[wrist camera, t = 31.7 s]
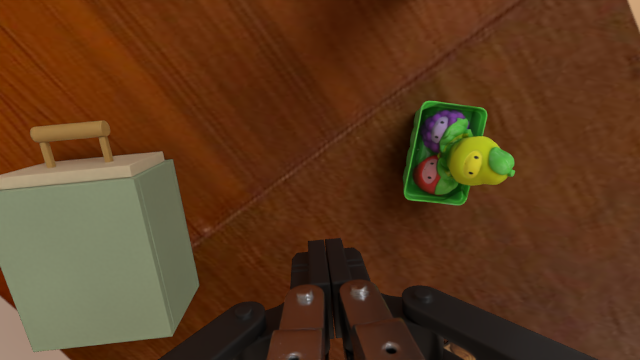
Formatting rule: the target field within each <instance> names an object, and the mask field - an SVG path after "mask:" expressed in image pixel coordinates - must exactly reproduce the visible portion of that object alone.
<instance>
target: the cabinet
mask: <svg viewBox="0 0 640 360" xmlns="http://www.w3.org/2000/svg"><path fill="white" fill-rule="evenodd" d="M0 267H1V269H2V272H3V274H4V277H5V280H6V282H7V285H8V287H9V290H10V292H11V295H12V298H13V300H14V303H15V305H16V308H17V311H18V313H19V316H20V318H21V321H22V324H23V326H24V329H25V331H26V334H27V337H28V339H29V342H30V344H31V347H32V349H33V352H39V351H46V350H56V349H65V348H74V347H83V346H92V345H100V344H109V343H118V342H127V341H136V340H144V339H153V338H162V337H171V336H173V334H174V332H175V330H176V328H177V326H178V324H179V322H180V321H181V319H182V317H183V315H184V313H185V311H186V309H187V307H188V306H189V304H190V302H191V300H192V298H193V296H194V294H195V292H196V291H197V289H198V287H199V281H198V276H197V272H196V267H195V262H194V257H193V253H192V248H191V243H190V238H189V234H188V229H187V224H186V220H185V215H184V210H183V205H182V201H181V196H180V191H179V186H178V182H177V177H176V172H175V167H174V163H173V159H169V160H165V161H164V162H162V163H160V164H157V165H155V166H153V167H151V168H149V169H147V170H145V171H143V172H141V173H139V174H137V175H135V176H133V177H130V178H122V179H112V180H102V181H91V182H81V183H71V184H61V185H47V186H36V187H26V188H16V189H6V190H0Z"/></svg>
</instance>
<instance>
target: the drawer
mask: <svg viewBox="0 0 640 360" xmlns="http://www.w3.org/2000/svg"><path fill="white" fill-rule="evenodd" d="M109 134H110V127H109V124H108V123H107V122H106V121H93V122H82V123H72V124H61V125H50V126H39V127H33V128H32V129H31V131H30V135H31V138H32V139H33V140H34V141H35V142H40V143H39V144H40V147H41V150H42V153H43V157H44V160H45V163H43V164H39V165H36V166H32V167H28V168H25V169H21V170H17V171H13V172H10V173H6V174H2V175H0V190H6V189H16V188H26V187H36V186H47V185H61V184H71V183H81V182H91V181H102V180H112V179H122V178H130V177H133V176H135V175H137V174H139V173H141V172H143V171H145V170H147V169H149V168H151V167H153V166H155V165H157V164H160V163H162V162H164V161H165V160H164V155H163V152H162V151H161V152H151V153H140V154H130V155H119V156H112V153H111V149H110V145H109V141H108V137H107V136H108V135H109ZM92 137H99V141H100V145H101V149H102V152H103V156H104V157H99V158H88V159H78V160H67V161H57V162H55V160H54V157H53V154H52V151H51V147H50V144H49V142H50V141H60V140H71V139H82V138H92Z"/></svg>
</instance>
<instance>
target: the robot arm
mask: <svg viewBox="0 0 640 360" xmlns="http://www.w3.org/2000/svg"><path fill="white" fill-rule="evenodd" d="M325 247H326V252H325ZM332 312H333V314H332ZM333 319H334V326H335V333H336V338H342V340H343V350H344V358H345V360H464V359H463V358H461V357H459V356H457V355H456V354H454V353H452V352H450V351H448V350H447V349H445V348H443V346H444V339H446V340H448V341H450V342H452V343H454V344H455V345H457V346H459V347H461V348H463V349H465V350H466V351H468V352H469V353H471V354H472V355H473V357H474V358H475V359H476V360H598V359H595V358H593V357H591V356H588V355H586V354H584V353H581V352H579V351H577V350H575V349H572V348H570V347H568V346H565V345H563V344H561V343H558V342H556V341H554V340H552V339H549V338H547V337H545V336H542V335H540V334H538V333H535V332H533V331H531V330H528V329H526V328H524V327H522V326H519V325H517V324H515V323H512V322H510V321H508V320H505V319H503V318H501V317H499V316H496V315H494V314H492V313H489V312H487V311H485V310H482V309H480V308H478V307H475V306H473V305H471V304H469V303H466V302H464V301H462V300H459V299H457V298H455V297H452V296H450V295H448V294H446V293H443V292H441V291H439V290H436V289H434V288H431V287H428V286H412V287H409V288H407V289H405V290H404V291H403V293H402V297H395V296H389V295H385V294H382V293H380V291H379V289H378V288H377V286H376V285H375V284H374V283H372V282H371V281H370V278H369V275H368V273H367V270H366V267H365V265H364V262H363V259H362V256H361V253H360V252H359V251H357V250H356V249H355V248H343V244H342V240H341V238H336V239H325V245H324V240H315V241H308V252H302V253H297V254H296V255H295V256H294V257H293V259H292V270H291V286H290V290H289V291H288V293H287V294H286V297H285V302H284V303H282V304H281V305H279V306H277V307H275V308H272V309H269V310H266V311H265V309H264V307H263V305H261V304H260V303H257V302H243V303H239V304H236V305H234V306H233V307H231V308H230V309H228V310H227V311H225V312H224V313H223V314H221V315H220V316H218V317H217V318H216V319H214V320H213V321H211V322H210V323H209V324H207V325H206V326H204V327H203V328H202V329H200V330H199V331H197V332H196V333H195V334H193V335H192V336H190V337H189V338H188V339H186V340H185V341H183V342H182V343H181V344H179V345H178V346H176V347H175V348H174V349H172V350H171V351H169V352H168V353H167V354H165V355H164V356H162V357H161V358H160V359H158V360H329V349H330V339H334V327H333Z"/></svg>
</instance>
